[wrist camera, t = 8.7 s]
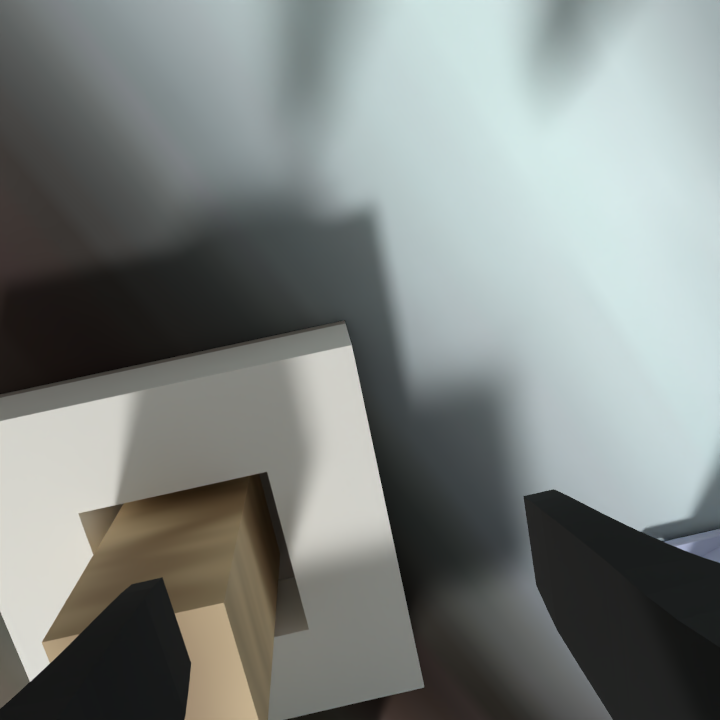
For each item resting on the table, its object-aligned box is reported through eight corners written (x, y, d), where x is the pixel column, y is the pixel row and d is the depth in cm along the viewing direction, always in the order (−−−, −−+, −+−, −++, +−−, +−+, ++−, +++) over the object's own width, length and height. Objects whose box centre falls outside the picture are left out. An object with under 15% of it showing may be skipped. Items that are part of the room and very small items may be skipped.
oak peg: (254, 454, 21) (223, 603, 14) (280, 555, 22) (265, 745, 15) (138, 478, 21) (41, 642, 13) (170, 578, 22) (97, 782, 15)
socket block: (344, 320, 21) (351, 345, 17) (408, 618, 24) (424, 687, 21) (-12, 397, 21) (-74, 436, 17) (101, 687, 24) (67, 770, 20)
